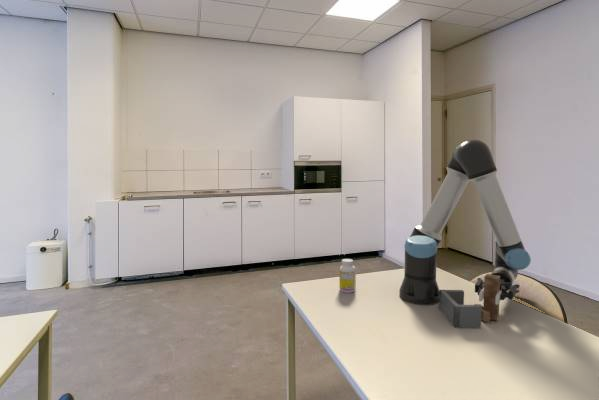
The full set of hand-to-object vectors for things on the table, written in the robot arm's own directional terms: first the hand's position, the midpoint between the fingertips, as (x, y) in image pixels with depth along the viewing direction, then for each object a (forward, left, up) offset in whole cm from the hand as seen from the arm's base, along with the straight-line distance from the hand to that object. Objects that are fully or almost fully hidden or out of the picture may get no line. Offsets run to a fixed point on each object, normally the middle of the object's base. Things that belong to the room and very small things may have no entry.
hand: (488, 298), depth 111 cm
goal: (-4, -8, -8) cm, 12 cm away
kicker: (-4, +1, -8) cm, 9 cm away
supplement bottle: (-29, -43, -9) cm, 53 cm away
